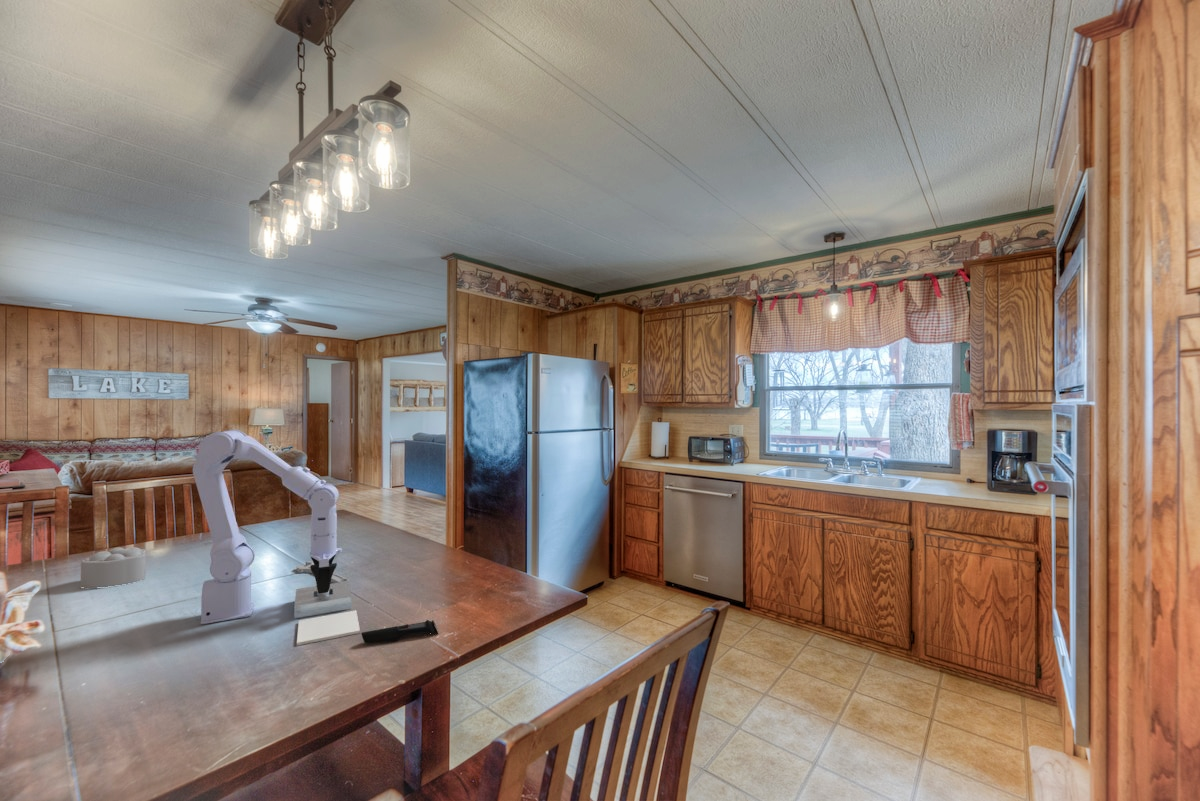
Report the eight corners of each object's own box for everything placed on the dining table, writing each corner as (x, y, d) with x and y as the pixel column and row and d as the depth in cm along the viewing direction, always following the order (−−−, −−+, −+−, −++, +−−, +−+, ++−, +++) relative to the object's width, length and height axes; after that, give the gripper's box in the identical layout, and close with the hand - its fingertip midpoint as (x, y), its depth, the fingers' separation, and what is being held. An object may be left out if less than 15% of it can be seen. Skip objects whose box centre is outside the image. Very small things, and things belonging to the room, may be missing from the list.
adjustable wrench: (350, 585, 140) (350, 579, 140) (326, 592, 135) (326, 585, 135) (315, 565, 156) (315, 559, 156) (292, 570, 151) (292, 564, 151)
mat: (296, 645, 105) (296, 642, 105) (298, 623, 115) (298, 620, 115) (359, 633, 111) (359, 630, 111) (356, 612, 121) (356, 610, 121)
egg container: (145, 581, 140) (145, 550, 140) (78, 593, 131) (78, 560, 131) (145, 571, 148) (145, 542, 148) (82, 582, 139) (82, 551, 139)
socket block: (294, 618, 117) (294, 606, 117) (296, 600, 128) (296, 589, 128) (351, 608, 123) (351, 596, 123) (348, 592, 134) (348, 581, 134)
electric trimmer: (361, 642, 107) (361, 628, 107) (437, 629, 114) (436, 615, 114) (361, 650, 104) (360, 635, 104) (438, 636, 110) (438, 622, 110)
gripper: (342, 538, 121) (342, 594, 121) (340, 525, 134) (340, 575, 134) (309, 542, 118) (308, 599, 118) (310, 528, 130) (309, 580, 130)
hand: (323, 587), depth 126 cm, fingers open, 7 cm apart
